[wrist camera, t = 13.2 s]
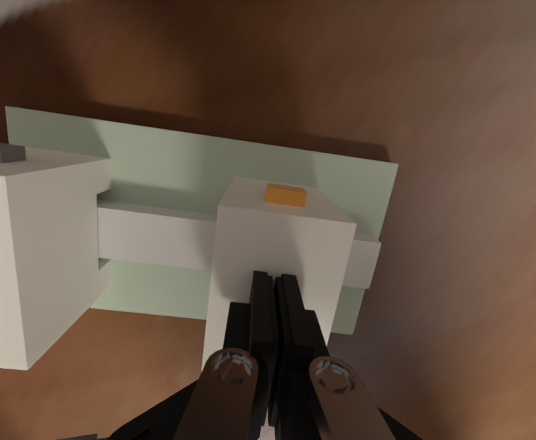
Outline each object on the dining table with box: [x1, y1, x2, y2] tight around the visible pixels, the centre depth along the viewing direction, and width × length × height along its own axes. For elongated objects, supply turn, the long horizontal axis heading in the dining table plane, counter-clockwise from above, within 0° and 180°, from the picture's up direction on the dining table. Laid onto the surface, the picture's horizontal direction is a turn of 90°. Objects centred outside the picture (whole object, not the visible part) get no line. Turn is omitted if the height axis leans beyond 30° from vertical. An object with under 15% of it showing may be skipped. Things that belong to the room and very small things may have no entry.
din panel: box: [0, 106, 399, 370], centre depth 15 cm, size 22×12×8 cm, turn 82°
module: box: [201, 177, 357, 372], centre depth 15 cm, size 5×9×7 cm, turn 172°
